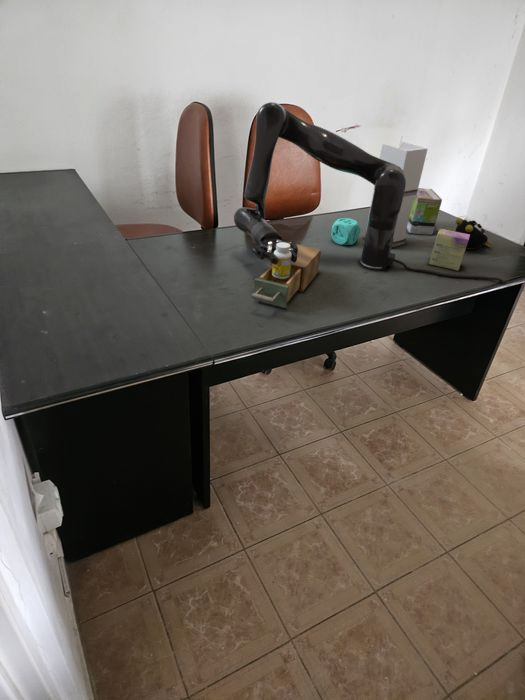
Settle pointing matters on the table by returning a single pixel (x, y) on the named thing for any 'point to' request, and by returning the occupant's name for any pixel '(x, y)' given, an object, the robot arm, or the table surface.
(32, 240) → the table surface
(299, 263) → the cabinet
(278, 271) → the supplement bottle
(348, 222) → the decorative dice
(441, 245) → the box
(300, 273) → the drawer
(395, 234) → the tall white carton
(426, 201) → the tea box
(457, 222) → the black yellow plush toy
